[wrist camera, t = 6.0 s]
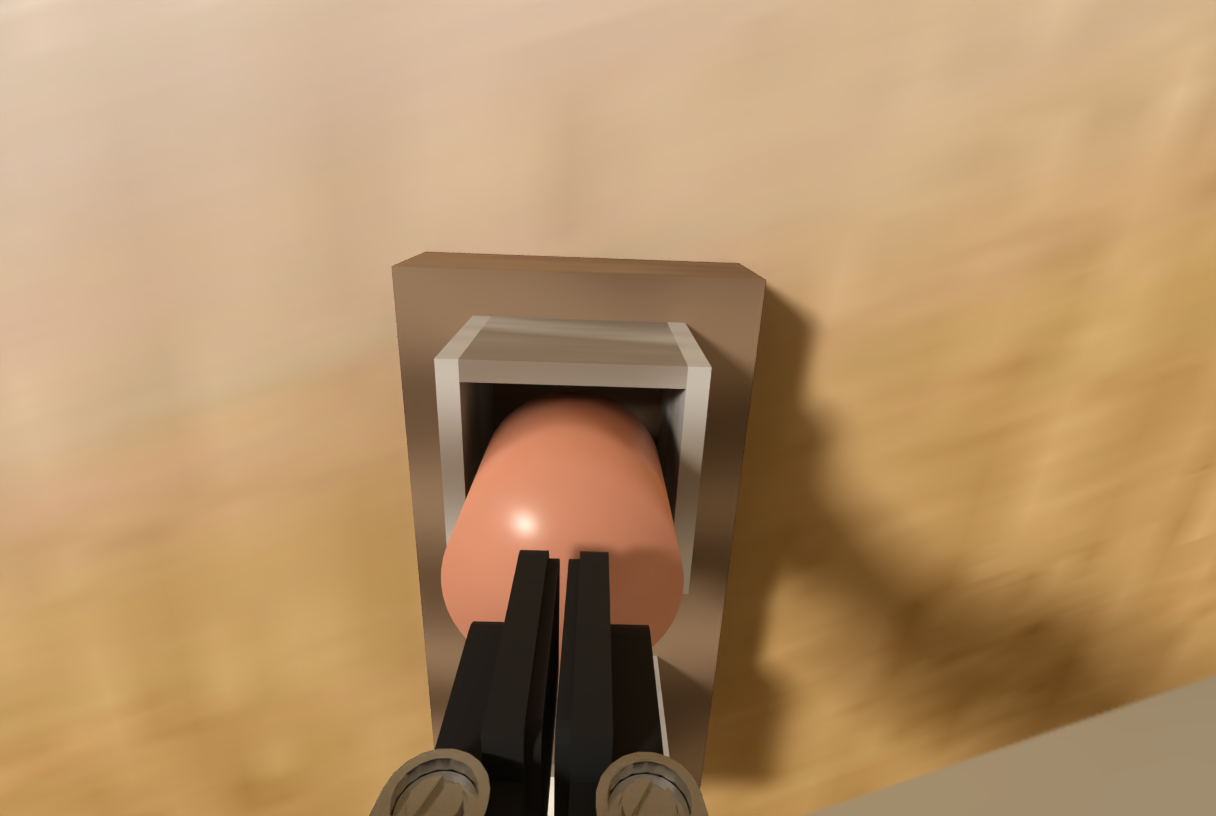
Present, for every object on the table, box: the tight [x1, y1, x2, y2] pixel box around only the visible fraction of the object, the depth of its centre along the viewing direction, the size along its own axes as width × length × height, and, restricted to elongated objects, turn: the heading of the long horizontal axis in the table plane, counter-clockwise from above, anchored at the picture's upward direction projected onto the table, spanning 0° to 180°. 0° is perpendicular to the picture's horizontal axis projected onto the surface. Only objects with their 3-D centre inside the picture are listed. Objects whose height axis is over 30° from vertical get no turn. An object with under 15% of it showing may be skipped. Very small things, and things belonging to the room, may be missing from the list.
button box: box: [392, 252, 766, 789], centre depth 23 cm, size 24×12×9 cm, turn 178°
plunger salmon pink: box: [441, 391, 684, 679], centre depth 15 cm, size 5×5×5 cm
